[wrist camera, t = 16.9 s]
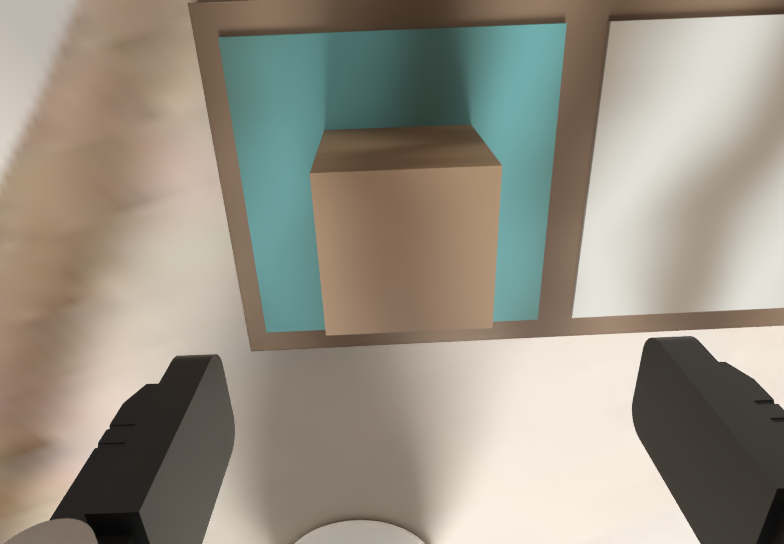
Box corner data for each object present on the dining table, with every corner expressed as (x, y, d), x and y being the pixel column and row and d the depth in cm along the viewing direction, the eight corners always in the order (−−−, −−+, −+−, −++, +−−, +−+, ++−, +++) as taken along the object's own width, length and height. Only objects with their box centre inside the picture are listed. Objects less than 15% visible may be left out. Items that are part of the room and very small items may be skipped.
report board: (955, -28, 18) (991, -29, 17) (829, 310, 24) (850, 324, 23) (196, 2, 18) (185, 3, 17) (255, 337, 24) (250, 354, 23)
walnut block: (471, 124, 19) (502, 165, 14) (466, 257, 21) (492, 328, 17) (324, 129, 19) (309, 173, 14) (335, 262, 21) (326, 335, 17)
